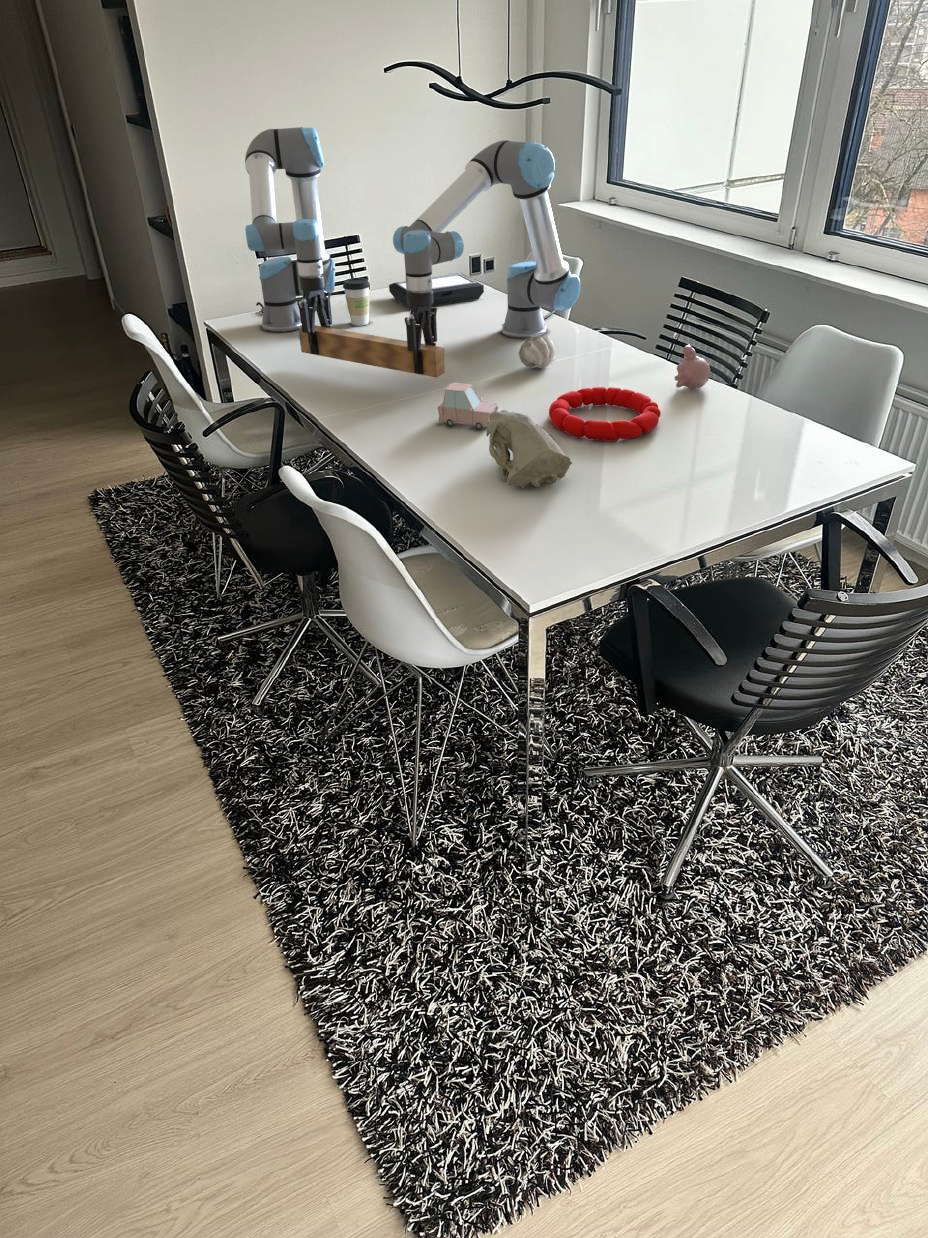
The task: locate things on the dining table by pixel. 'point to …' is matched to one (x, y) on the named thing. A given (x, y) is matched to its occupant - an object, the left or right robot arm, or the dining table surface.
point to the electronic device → (444, 290)
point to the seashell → (536, 351)
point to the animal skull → (525, 450)
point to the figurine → (692, 370)
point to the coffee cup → (357, 300)
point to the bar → (374, 350)
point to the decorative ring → (604, 428)
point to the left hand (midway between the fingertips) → (320, 351)
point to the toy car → (465, 406)
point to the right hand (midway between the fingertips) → (423, 370)
